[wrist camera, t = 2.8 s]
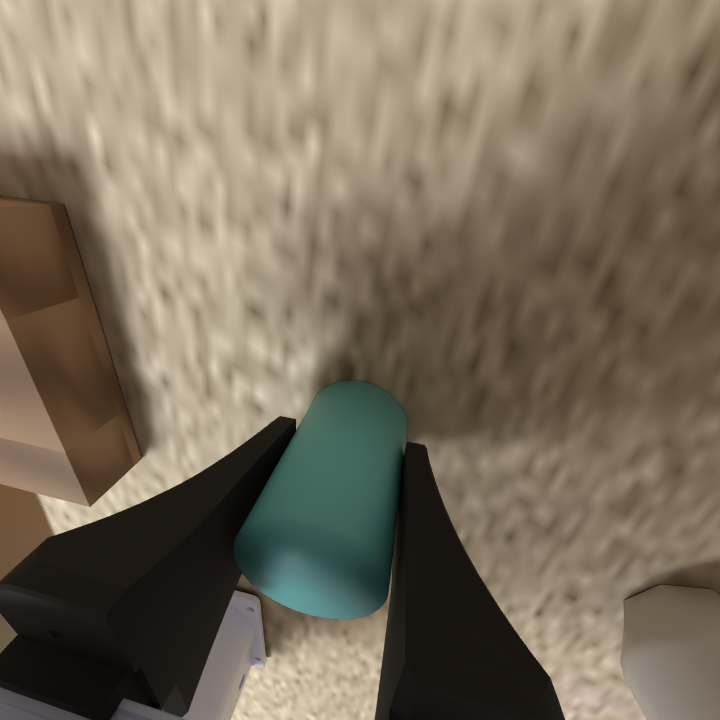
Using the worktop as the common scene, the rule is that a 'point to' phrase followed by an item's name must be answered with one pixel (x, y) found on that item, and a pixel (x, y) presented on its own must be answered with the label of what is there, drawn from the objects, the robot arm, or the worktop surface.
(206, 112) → the worktop surface
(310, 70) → the worktop surface
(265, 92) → the worktop surface
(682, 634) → the salt shaker
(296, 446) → the teal pin
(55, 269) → the socket block
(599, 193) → the worktop surface
